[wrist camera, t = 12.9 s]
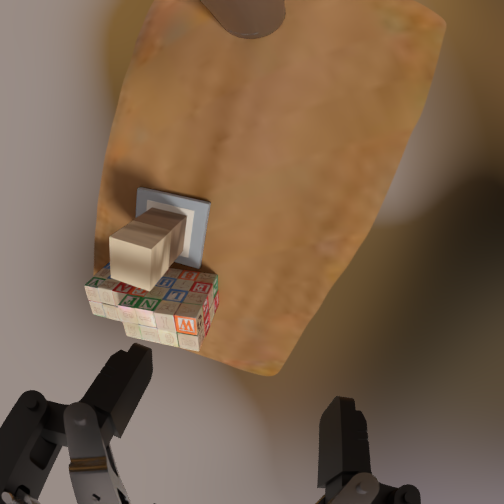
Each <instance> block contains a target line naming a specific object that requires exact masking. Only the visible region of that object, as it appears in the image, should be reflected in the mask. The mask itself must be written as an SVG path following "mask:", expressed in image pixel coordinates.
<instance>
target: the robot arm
mask: <svg viewBox="0 0 504 504" xmlns="http://www.w3.org/2000/svg"><path fill="white" fill-rule="evenodd" d="M200 1H201V2H202V3H203V4H204V5H205V6H206V7H207V8H208V10H209V11H210V12H211V13H212V14H213V15H214V16H215V18H216V19H217V20H218V21H219V22H220V24H221V25H222V26H223V27H224V28H225V29H226V30H227V31H228V32H229V33H231V34H232V35H235V36H237V37H240V38H246V39H254V38H260V37H264V36H267V35H269V34H271V33H272V32H274V31H275V30H277V29H278V28H279V26H280V25H281V24H282V22H283V20H284V18H285V4H284V0H200ZM152 372H153V364H152V349H151V348H148V347H145V346H143V345H140V344H137V343H134V344H133V345H132V346H131V348H130V349H129V351H128V352H125V351H123V350H120V351H118V352H116V353H115V354H113V355H112V356H111V357H110V358H109V360H108V361H107V363H106V364H105V366H104V367H103V368H102V370H101V371H100V373H99V374H98V376H97V377H96V379H95V380H94V382H93V383H92V385H91V386H90V388H89V389H88V391H87V392H86V394H85V395H84V397H83V398H82V399H81V400H80V401H79V402H75V403H72V404H70V405H64V404H58V403H55V402H51V401H47V400H46V399H45V398H44V396H43V395H42V394H41V393H40V392H38V391H34V390H30V391H26V392H24V393H23V394H22V395H21V396H20V398H19V399H18V401H17V402H16V404H15V405H14V407H13V408H12V410H11V412H10V413H9V415H8V416H7V418H6V420H5V421H4V423H3V424H2V426H1V428H0V504H40V503H39V502H38V497H39V495H40V493H41V491H42V488H43V486H44V484H45V482H46V479H47V477H48V475H49V473H50V471H51V468H52V466H53V464H54V462H55V460H56V458H57V456H58V454H59V452H60V450H61V448H62V446H66V447H68V450H69V455H70V460H71V463H70V464H69V473H70V478H71V482H72V485H73V489H74V493H75V496H76V500H77V503H78V504H131V503H130V500H129V497H128V495H127V492H126V490H125V488H124V485H123V483H122V481H121V479H120V476H119V473H118V470H117V467H116V463H115V460H114V457H113V454H112V450H111V446H110V440H111V439H112V437H113V435H114V436H116V437H118V438H121V436H122V434H123V432H124V430H125V428H126V426H127V424H128V422H129V420H130V418H131V417H132V415H133V413H134V411H135V409H136V407H137V405H138V403H139V401H140V399H141V397H142V395H143V393H144V391H145V390H146V388H147V386H148V384H149V382H150V380H151V377H152ZM318 463H319V464H318V485H317V488H326V489H325V495H323V496H322V497H321V498H320V499H319V500H318V501H317V503H315V504H421V499H420V492H419V490H418V489H417V488H416V487H415V486H413V485H408V484H407V485H403V486H401V487H399V488H395V487H392V486H388V485H384V484H381V483H380V482H378V480H377V478H376V477H375V476H374V475H372V472H371V466H370V454H369V442H368V433H367V423H366V420H365V417H364V415H363V414H362V412H361V411H356V410H355V401H354V399H353V398H347V397H340V396H336V397H335V398H334V399H333V401H332V402H331V403H330V405H329V406H328V408H327V409H326V410H325V411H324V413H323V414H322V416H321V419H320V424H319V462H318Z"/></svg>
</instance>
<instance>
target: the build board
mask: <svg viewBox="0 0 504 504" xmlns="http://www.w3.org/2000/svg"><path fill="white" fill-rule="evenodd" d="M210 204H211V202H206V201H202V200H198V199H193V198H189V197H185V196H180V195H176V194H171V193H167V192H162V191H157V190H153V189H148V188H143V187H139V188H137V201H136V218H137V217H138V216H140V215H141V214H143V213H144V212H146V211H147V210H149V209H150V208H152V207H153V208H157V209H161V210H165V211H170V212H174V213H178V214H182V215H186V216H187V221H186V229H185V238H184V247H183V251H182V253H181V254H180V255H179V256H178V257H177V259H176V260H175V261H174V262H176V263H180V264H183V265H187V266H190V267H194V268H198V269H199V268H200V267H201V262H202V255H203V248H204V241H205V235H206V228H207V222H208V216H209V210H210Z"/></svg>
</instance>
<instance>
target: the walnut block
mask: <svg viewBox="0 0 504 504" xmlns="http://www.w3.org/2000/svg"><path fill="white" fill-rule="evenodd" d="M134 221H138V222H142V223H145V224H149V225H153V226H157V227H161V228H165V229H168V230H172V232H171V243H170V254H169V267H170V266H171V265H172V263H173V262H174V261H175V260H176V259H177V257H178V256H179V255H180V254H181V253H182V251H183V247H184V238H185V229H186V221H187V216H186V215H182V214H178V213H174V212H170V211H165V210H161V209H157V208H153V207H152V208H150V209H149V210H147V211H146V212H144V213H143V214H141V215H140V216H138V217H137V218H135V219H134ZM169 267H168V268H169Z"/></svg>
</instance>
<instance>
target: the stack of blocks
mask: <svg viewBox="0 0 504 504" xmlns="http://www.w3.org/2000/svg"><path fill="white" fill-rule="evenodd" d="M85 290H86V293H87V297H88V300H89V302H90V306H91V309H92V312H93V314H94V315H98V316H102V317H106V318H109V319H113V320H118V321H121V322H123V325H124V328H125V332H126V335H127V336H130V337H134V338H138V339H144V340H147V341H152V342H157V343H161V344H166V345H170V346H176V347H180V348H184V349H189V350H195V351H199V350H200V348H201V345H202V343H203V340H204V338H205V337H206V335H207V333H208V330H209V328H210V324H211V322H212V319H213V317H214V314H215V312H216V309H217V307H218V305H219V300H218V275H217V274H209V273H201V272H196V271H189V270H181V269H174V268H168V270H167V271H166V272H165V274H164V275H163V276H162V277H161V279H160V280H159V281H158V282H157V284H156V285H155V286H154V287H153V288H152V290H151V291H147V290H144V289H141V288H138V287H135V286H132V285H129V284H127V283H124V282H121V281H118V280H115V279H113V278H111V271H110V262H109V263H108V264H107V265H106V266H104V267H103V268H102V269H101V270H100V271H99V272H97V273H96V274H95V275H94V277H93V278H92V279H91V280H90V281H88V282H87V283H86V284H85Z"/></svg>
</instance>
